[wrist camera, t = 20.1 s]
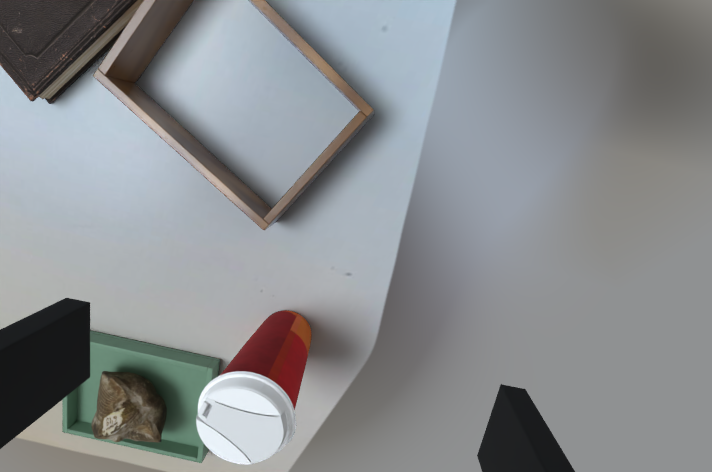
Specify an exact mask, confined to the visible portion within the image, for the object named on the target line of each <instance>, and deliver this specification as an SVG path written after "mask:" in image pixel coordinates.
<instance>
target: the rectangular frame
mask: <svg viewBox="0 0 712 472" xmlns="http://www.w3.org/2000/svg"><path fill="white" fill-rule="evenodd" d="M193 1H194V0H143V2H142V3H141V5H140V6H139V8H138V9H137V11H136V12H135V14H134V15H133V17H132V18H131V20H130V21H129V23H128V24H127V26H126V27H125V29H124V30H123V32H122V33H121V35H120V36H119V38H118V39H117V41H116V42H115V44H114V45H113V47H112V48H111V50H110V51H109V52H108V54H107V55H106V57H105V58H104V60H103V61H102V63H101V64H100V66H99V67H98V69H97V70H96V72H95V73H94V75H93V76H94V77H95V78H96V79H97V80H98V81H99V82H100V83H101V84H102V85H104V86H105V87H106V88H107V89H108V90H109V91H110V92H111V93H112V94H113V95H115V96H116V97H117V98H118V99H119V100H120V101H121V102H122V103H123V104H125V105H126V106H127V107H128V108H129V109H130V110H131V111H132V112H133V113H134V114H136V115H137V116H138V117H139V118H140V119H141V120H142V121H143V122H144V123H146V124H147V125H148V126H149V127H150V128H151V129H152V130H153V131H154V132H155V133H157V134H158V135H159V136H160V137H161V138H162V139H163V140H164V141H165V142H167V143H168V144H169V145H170V146H171V147H172V148H173V149H174V150H175V151H176V152H178V153H179V154H180V155H181V156H182V157H183V158H184V159H185V160H186V161H187V162H189V163H190V164H191V165H192V166H193V167H194V168H195V169H196V170H197V171H199V172H200V173H201V174H202V175H203V176H204V177H205V178H206V179H207V180H208V181H210V182H211V183H212V184H213V185H214V186H215V187H216V188H217V189H218V190H220V191H221V192H222V193H223V194H224V195H225V196H226V197H227V198H228V199H229V200H231V201H232V202H233V203H234V204H235V205H236V206H237V207H238V208H239V209H241V210H242V211H243V212H244V213H245V214H246V215H247V216H248V217H249V218H250V219H252V220H253V221H254V222H255V223H256V224H257V225H258V226H259V227H260V228H262V229H263V230H265V229H267V228H268V227H270V226H271V225H272V224H274V223H275V222H276V221H277V220H278V219H279V218H280V217H281V216H282V215H283V214H284V213H285V212H286V211H287V209H288V208H289V207H290V206H291V205H292V204H293V203H294V202H295V201H296V200H297V198H298V197H299V196H300V195H301V194H302V193H303V192H304V191H305V190H306V189H307V187H308V186H309V185H310V184H311V183H312V182H313V181H314V180H315V179H316V178H317V177H318V175H319V174H320V173H321V172H322V171H323V170H324V169H325V168H326V167H327V166H328V164H329V163H330V162H331V161H332V160H333V159H334V158H335V157H336V156H337V155H338V153H339V152H340V151H341V150H342V149H343V148H344V147H345V146H346V145H347V144H348V143H349V141H350V140H351V139H352V138H353V137H354V136H355V135H356V134H357V133H358V132H359V130H360V129H361V128H362V127H363V126H364V125H365V124H366V123H367V122H368V120H370V118H371V117H372V116H373V115H374V110H373V109H372V108H371V107H370V106H369V105H368V104H367V103H366V102H365V101H364V100H363V99H362V98H361V97H360V96H359V95H358V94H357V92H356V91H355V90H354V89H353V88H352V87H351V86H350V85H349V84H348V83H347V82H346V81H345V80H344V79H343V78H342V77H341V76H340V75H339V74H338V73H337V72H336V71H335V70H334V69H333V68H332V67H331V66H330V65H329V64H328V63H327V62H326V61H325V60H324V59H323V58H322V57H321V56H320V55H319V54H318V53H317V52H316V51H315V50H314V49H313V48H312V47H311V46H310V45H309V44H308V43H307V42H306V41H305V40H304V39H303V38H302V37H301V36H300V35H299V34H298V33H297V32H296V31H295V30H294V29H293V28H292V27H291V26H290V25H289V24H288V23H287V22H286V21H285V20H284V19H283V18H282V17H281V16H280V15H279V14H278V13H277V12H276V11H275V10H274V9H273V8H272V7H271V6H270V5H269V4H268V3H267V2H266V1H265V0H248V1H249V2H250V3H251V4H252V5H253V6H254V7H255V8H256V9H257V10H258V11H259V12H260V13H261V14H262V15H263V16H264V17H265V18H266V19H267V20H268V21H269V22H270V23H271V24H272V25H273V26H274V27H275V28H276V29H277V30H278V31H279V32H280V33H281V34H282V35H283V36H284V37H285V38H286V39H287V40H288V41H289V42H290V43H291V44H292V45H293V46H294V47H295V48H296V49H297V50H298V51H299V52H300V53H301V54H302V55H303V56H304V57H305V58H306V59H307V60H308V61H309V62H310V63H311V64H312V65H313V66H314V67H315V68H316V69H317V70H318V71H319V72H320V73H321V74H322V75H323V76H324V77H325V78H326V79H327V80H328V81H329V82H330V83H331V84H332V85H333V86H334V87H335V88H336V89H337V90H338V91H339V92H340V93H341V94H342V95H343V96H344V97H345V98H346V99H347V100H348V101H349V102H350V103H351V104H352V105H353V106H354V107H355V108H356V109H357V110H358V111H359V112H358V114H357V115H356V116H355V117H354V118H353V119H352V120H351V121H350V122H349V124H348V125H347V126H346V127H345V128H344V129H343V130H342V131H341V132H340V134H339V135H338V136H337V137H336V138H335V139H334V140H333V141H332V142H331V144H330V145H329V146H328V147H327V148H326V149H325V150H324V151H323V153H322V154H321V155H320V156H319V157H318V158H317V159H316V160H315V161H314V163H313V164H312V165H311V166H310V167H309V168H308V169H307V170H306V171H305V173H304V174H303V175H302V176H301V177H300V178H299V179H298V180H297V181H296V183H295V184H294V185H293V186H292V187H291V188H290V189H289V190H288V191H287V193H286V194H285V195H284V196H283V197H282V198H281V199H280V200H279V202H278V203H277V204H276V205H275V206H274V207H273V208H272V209H271V208H270V207H269V206H268V205H267V204H266V203H265V202H264V201H263V200H262V199H260V198H259V197H258V196H257V195H256V194H255V193H254V192H253V191H252V190H251V189H250V188H248V187H247V186H246V185H245V184H244V183H243V182H242V181H241V180H240V179H239V178H238V177H236V176H235V175H234V174H233V173H232V172H231V171H230V170H229V169H228V168H227V167H226V166H225V165H223V164H222V163H221V162H220V161H219V160H218V159H217V158H216V157H215V156H214V155H213V154H211V153H210V152H209V151H208V150H207V149H206V148H205V147H204V146H203V145H202V144H201V143H199V142H198V141H197V140H196V139H195V138H194V137H193V136H192V135H191V134H190V133H189V132H187V131H186V130H185V129H184V128H183V127H182V126H181V125H180V124H179V123H178V122H177V121H175V120H174V119H173V118H172V117H171V116H170V115H169V114H168V113H167V112H166V111H165V110H163V109H162V108H161V107H160V106H159V105H158V104H157V103H156V102H155V101H154V100H153V99H152V98H150V97H149V96H148V95H147V94H146V93H145V92H144V91H143V90H142V89H141V88H140V87H138V86H137V85H136V84H135V83H136V81H137V80H138V79H139V77H140V76H141V74H142V73H143V72H144V70H145V69H146V67H147V66H148V64H149V63H150V62H151V60H152V59H153V57H154V56H155V55H156V53H157V52H158V50H159V49H160V48H161V46H162V45H163V43H164V42H165V40H166V39H167V38H168V36H169V35H170V33H171V32H172V31H173V29H174V28H175V26H176V25H177V23H178V22H179V21H180V19H181V18H182V16H183V15H184V14H185V12H186V11H187V9H188V8H189V7H190V5H191V4H192V2H193Z"/></svg>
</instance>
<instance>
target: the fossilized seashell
mask: <svg viewBox="0 0 712 472" xmlns="http://www.w3.org/2000/svg"><path fill="white" fill-rule="evenodd" d="M166 415H167V408H166V404H165V401H164V399H162V397H161V396H160V395H158V394H157V393H156V390H155V388H154V386H153V384H152V383H151V382H150V381H149V380H147V379H146V378H144V377H143V376H141V375H137V374H135V373H131V372H108V371H103V372H102V375H101V378H100V384H99V390H98V397H97V411H96V413H95V415H94V418H93V420H92V423H91V424H92V425H91V427H92V431H93V434H94V437H95V438H97V439H109V440H112V441H114V442H120V441H122V440H123V439H131V440H134V441H144V442H156V443H158V442H161V437H162V431H163V428H164V425H165V422H166Z"/></svg>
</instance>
